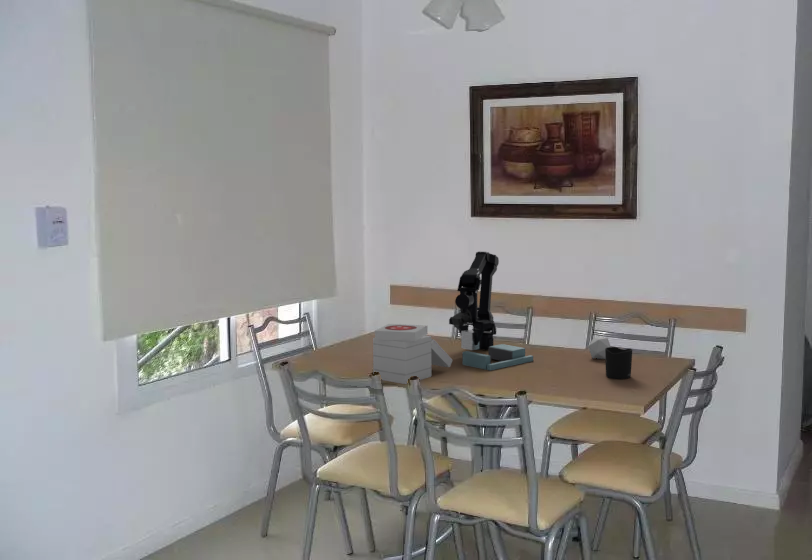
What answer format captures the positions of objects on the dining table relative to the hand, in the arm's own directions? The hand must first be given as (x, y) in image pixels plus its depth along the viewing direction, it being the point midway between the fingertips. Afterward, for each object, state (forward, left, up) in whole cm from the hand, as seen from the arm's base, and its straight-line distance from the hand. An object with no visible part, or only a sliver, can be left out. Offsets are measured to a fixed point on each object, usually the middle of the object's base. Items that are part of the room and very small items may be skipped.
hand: (470, 344), depth 356 cm
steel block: (0, 0, -2) cm, 2 cm away
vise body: (+14, +1, -5) cm, 15 cm away
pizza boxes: (+6, -37, -6) cm, 38 cm away
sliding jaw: (+13, +7, -6) cm, 16 cm away
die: (+36, +36, -6) cm, 51 cm away
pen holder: (+60, +14, -6) cm, 62 cm away
